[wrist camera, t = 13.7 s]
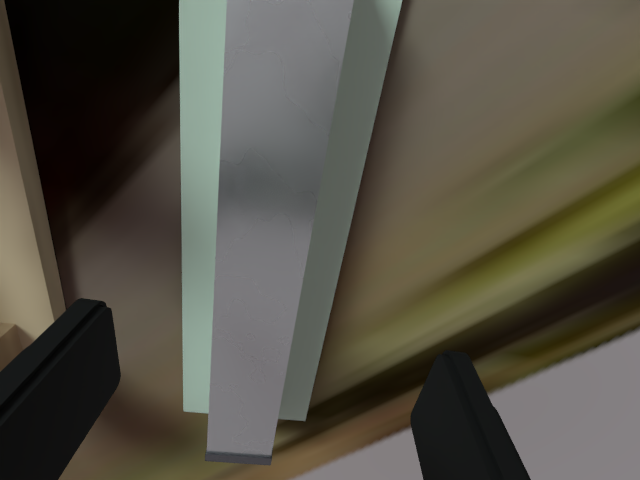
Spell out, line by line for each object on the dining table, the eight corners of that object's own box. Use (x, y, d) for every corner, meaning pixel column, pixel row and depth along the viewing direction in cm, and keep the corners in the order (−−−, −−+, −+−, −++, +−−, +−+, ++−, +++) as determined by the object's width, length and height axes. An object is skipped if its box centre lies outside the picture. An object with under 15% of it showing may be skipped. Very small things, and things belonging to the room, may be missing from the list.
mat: (414, -68, 12) (419, -74, 12) (305, 413, 24) (305, 421, 23) (183, -123, 11) (177, -133, 11) (186, 403, 23) (183, 411, 22)
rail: (251, -76, 12) (229, -131, 8) (355, -52, 12) (373, -94, 9) (219, 403, 22) (205, 460, 19) (275, 408, 23) (270, 465, 19)
